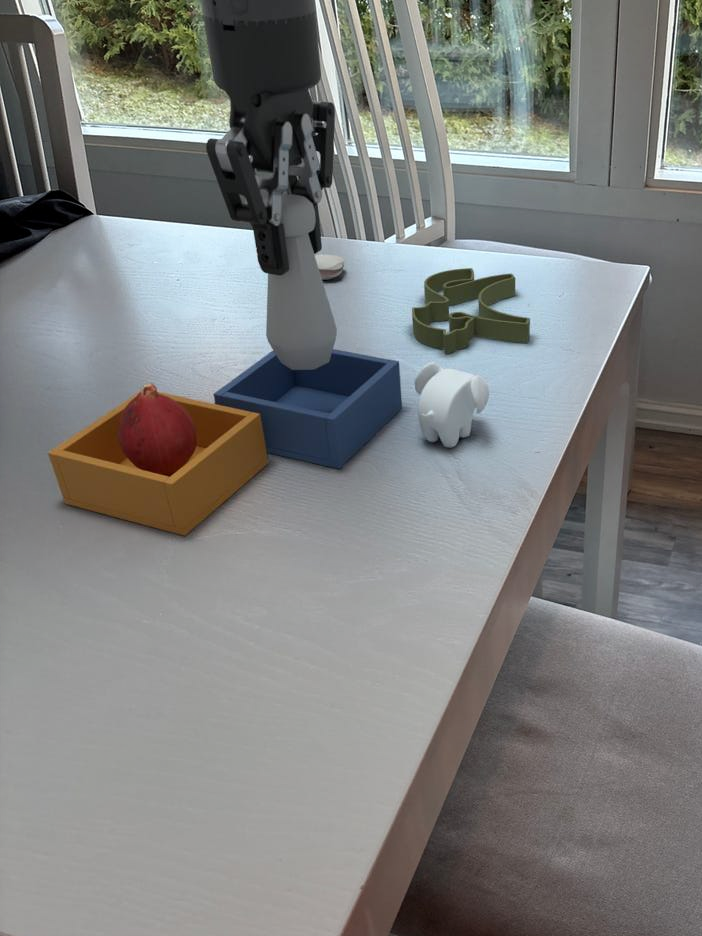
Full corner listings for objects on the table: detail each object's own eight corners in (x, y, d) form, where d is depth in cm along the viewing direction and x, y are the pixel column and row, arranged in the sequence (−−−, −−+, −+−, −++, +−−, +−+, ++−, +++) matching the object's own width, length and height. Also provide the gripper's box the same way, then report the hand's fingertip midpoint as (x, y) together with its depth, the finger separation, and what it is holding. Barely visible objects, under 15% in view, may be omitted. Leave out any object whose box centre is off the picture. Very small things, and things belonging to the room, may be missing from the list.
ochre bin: (64, 503, 76) (46, 452, 73) (156, 436, 84) (143, 388, 81) (185, 536, 72) (171, 484, 69) (269, 463, 80) (260, 413, 77)
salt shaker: (262, 353, 82) (236, 193, 74) (325, 340, 84) (307, 183, 76) (284, 380, 78) (259, 214, 70) (349, 366, 80) (333, 203, 72)
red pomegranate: (147, 503, 75) (121, 410, 69) (120, 472, 78) (94, 381, 73) (216, 479, 77) (196, 388, 72) (187, 450, 81) (166, 361, 75)
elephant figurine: (508, 426, 85) (509, 363, 81) (457, 466, 80) (455, 400, 76) (445, 407, 88) (443, 345, 84) (392, 444, 83) (388, 379, 79)
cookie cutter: (533, 350, 97) (534, 331, 95) (415, 355, 96) (414, 336, 95) (513, 284, 110) (513, 266, 109) (409, 288, 109) (408, 270, 108)
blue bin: (222, 442, 83) (212, 393, 80) (293, 386, 91) (286, 339, 88) (339, 469, 79) (333, 419, 76) (402, 408, 88) (399, 360, 84)
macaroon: (301, 278, 112) (298, 256, 110) (331, 265, 115) (328, 244, 113) (327, 286, 110) (325, 264, 108) (357, 273, 113) (355, 251, 111)
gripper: (269, -11, 71) (298, 228, 82) (146, 19, 61) (199, 286, 72) (358, -6, 68) (376, 240, 80) (245, 26, 59) (284, 301, 70)
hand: (292, 261), depth 76 cm, fingers closed on salt shaker, 4 cm apart
